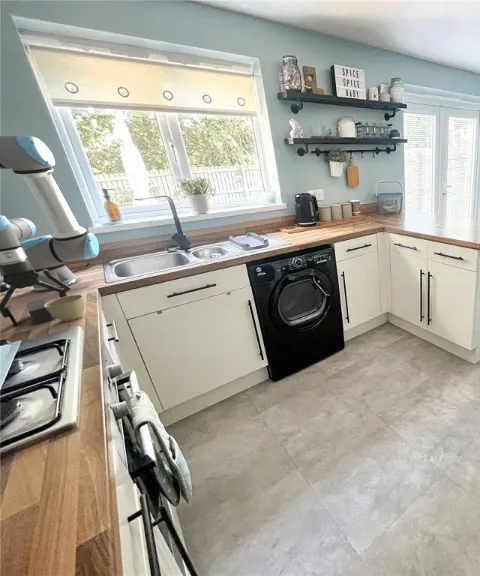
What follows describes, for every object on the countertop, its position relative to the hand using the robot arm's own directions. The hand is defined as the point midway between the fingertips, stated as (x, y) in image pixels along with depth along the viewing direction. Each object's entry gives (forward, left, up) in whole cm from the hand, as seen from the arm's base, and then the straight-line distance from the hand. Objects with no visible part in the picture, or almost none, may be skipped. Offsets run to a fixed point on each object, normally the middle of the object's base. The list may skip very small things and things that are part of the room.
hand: (42, 316), depth 114 cm
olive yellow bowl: (+8, +12, 0) cm, 14 cm away
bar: (0, 0, 0) cm, 0 cm away
